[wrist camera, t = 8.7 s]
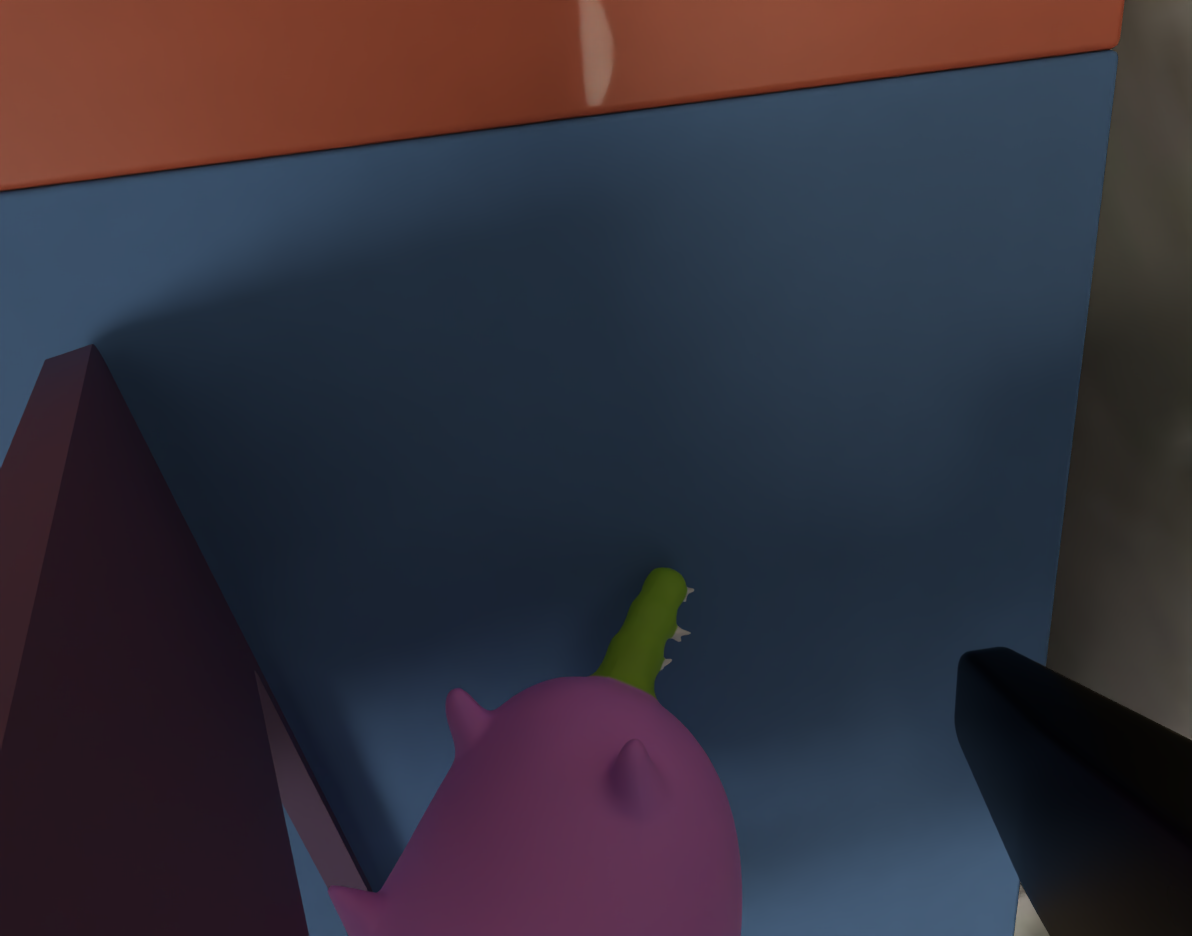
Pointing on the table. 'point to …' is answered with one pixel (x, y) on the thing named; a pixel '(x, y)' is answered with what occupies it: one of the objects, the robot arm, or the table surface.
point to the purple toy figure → (272, 754)
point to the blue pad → (625, 439)
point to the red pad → (448, 67)
